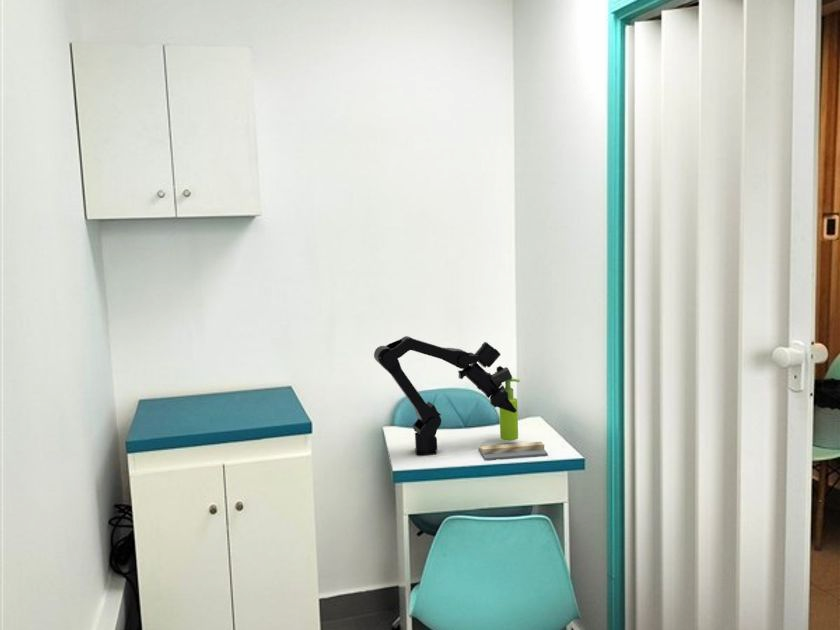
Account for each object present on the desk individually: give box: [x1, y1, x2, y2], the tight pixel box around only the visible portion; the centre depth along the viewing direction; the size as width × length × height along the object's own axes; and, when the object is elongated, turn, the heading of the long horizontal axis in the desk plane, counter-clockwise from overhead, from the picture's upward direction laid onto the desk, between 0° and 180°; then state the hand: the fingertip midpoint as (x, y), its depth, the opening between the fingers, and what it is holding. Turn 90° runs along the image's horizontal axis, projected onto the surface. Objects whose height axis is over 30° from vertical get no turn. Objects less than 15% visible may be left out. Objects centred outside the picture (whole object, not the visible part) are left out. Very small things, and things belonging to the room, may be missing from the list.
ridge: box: [479, 441, 545, 455], centre depth 241 cm, size 20×4×2 cm, turn 96°
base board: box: [477, 447, 549, 461], centre depth 241 cm, size 20×11×1 cm, turn 96°
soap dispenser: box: [499, 378, 521, 442], centre depth 250 cm, size 6×7×20 cm
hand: (514, 409), depth 250 cm, fingers closed on soap dispenser, 6 cm apart
